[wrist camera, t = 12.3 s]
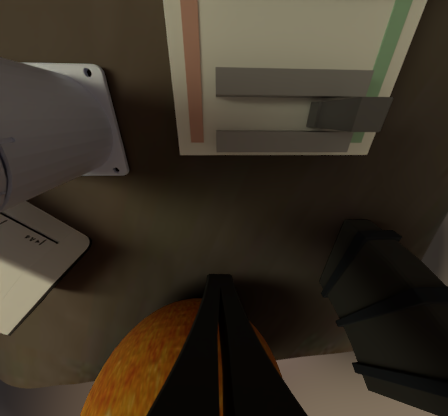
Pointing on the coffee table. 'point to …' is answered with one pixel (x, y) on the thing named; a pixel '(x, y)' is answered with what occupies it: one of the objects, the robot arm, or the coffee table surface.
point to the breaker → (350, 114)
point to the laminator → (33, 260)
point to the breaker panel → (280, 70)
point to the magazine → (390, 315)
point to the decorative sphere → (148, 362)
